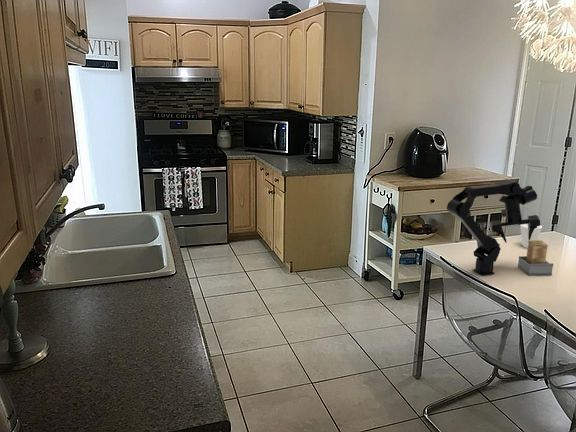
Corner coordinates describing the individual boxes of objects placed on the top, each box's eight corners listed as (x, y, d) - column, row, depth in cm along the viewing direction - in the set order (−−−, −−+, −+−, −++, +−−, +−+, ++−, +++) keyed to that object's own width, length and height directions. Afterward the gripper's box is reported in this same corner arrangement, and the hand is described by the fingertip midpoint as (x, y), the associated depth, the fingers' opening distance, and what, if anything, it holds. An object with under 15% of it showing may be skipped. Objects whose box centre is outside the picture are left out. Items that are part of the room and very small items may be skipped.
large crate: (528, 275, 203) (530, 264, 201) (517, 267, 212) (518, 256, 211) (551, 275, 203) (553, 264, 201) (539, 266, 212) (541, 255, 211)
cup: (543, 249, 233) (546, 228, 230) (522, 249, 233) (525, 228, 230) (533, 243, 243) (536, 222, 240) (514, 243, 243) (516, 222, 240)
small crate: (530, 271, 205) (534, 244, 202) (524, 266, 210) (528, 240, 207) (544, 271, 204) (547, 244, 201) (538, 266, 210) (541, 240, 207)
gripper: (534, 197, 206) (538, 230, 211) (487, 204, 213) (492, 236, 218) (538, 207, 196) (542, 241, 202) (489, 214, 203) (495, 247, 208)
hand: (517, 241), depth 208 cm, fingers open, 9 cm apart
